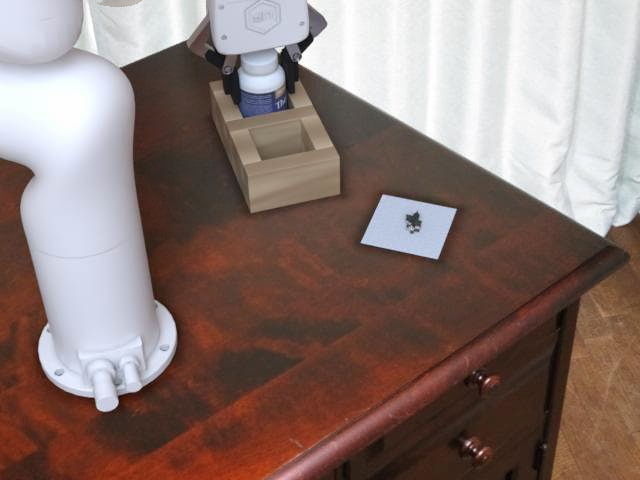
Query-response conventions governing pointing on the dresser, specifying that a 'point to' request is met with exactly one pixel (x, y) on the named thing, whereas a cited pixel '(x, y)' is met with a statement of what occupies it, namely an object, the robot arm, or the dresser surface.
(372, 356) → the dresser surface
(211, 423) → the dresser surface
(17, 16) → the robot arm
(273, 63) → the pill bottle
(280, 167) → the socket block
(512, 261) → the dresser surface
